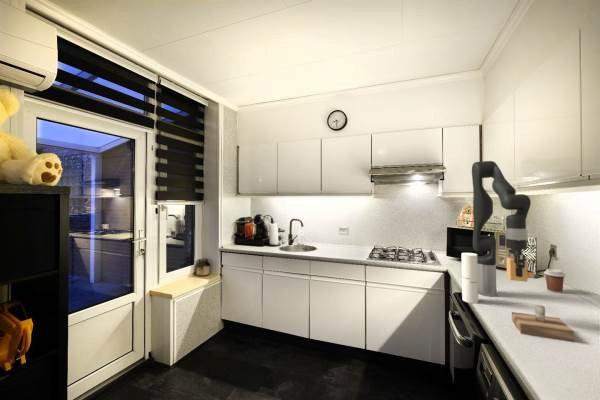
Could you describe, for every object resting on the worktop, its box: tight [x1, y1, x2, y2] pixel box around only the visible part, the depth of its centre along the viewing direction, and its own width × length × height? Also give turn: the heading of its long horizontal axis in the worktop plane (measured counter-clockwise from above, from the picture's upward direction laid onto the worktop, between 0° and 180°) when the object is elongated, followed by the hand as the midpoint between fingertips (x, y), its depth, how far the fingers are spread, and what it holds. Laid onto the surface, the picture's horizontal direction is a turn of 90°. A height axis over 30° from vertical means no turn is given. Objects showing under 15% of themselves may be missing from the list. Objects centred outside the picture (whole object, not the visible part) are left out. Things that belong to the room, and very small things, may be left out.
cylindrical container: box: [461, 252, 479, 304], centre depth 141 cm, size 7×7×25 cm
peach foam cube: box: [506, 257, 536, 283], centre depth 120 cm, size 9×6×9 cm, turn 65°
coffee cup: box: [543, 268, 566, 294], centre depth 152 cm, size 9×9×12 cm
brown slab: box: [511, 304, 575, 342], centre depth 109 cm, size 12×16×10 cm
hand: (516, 274), depth 121 cm, fingers closed on peach foam cube, 6 cm apart
